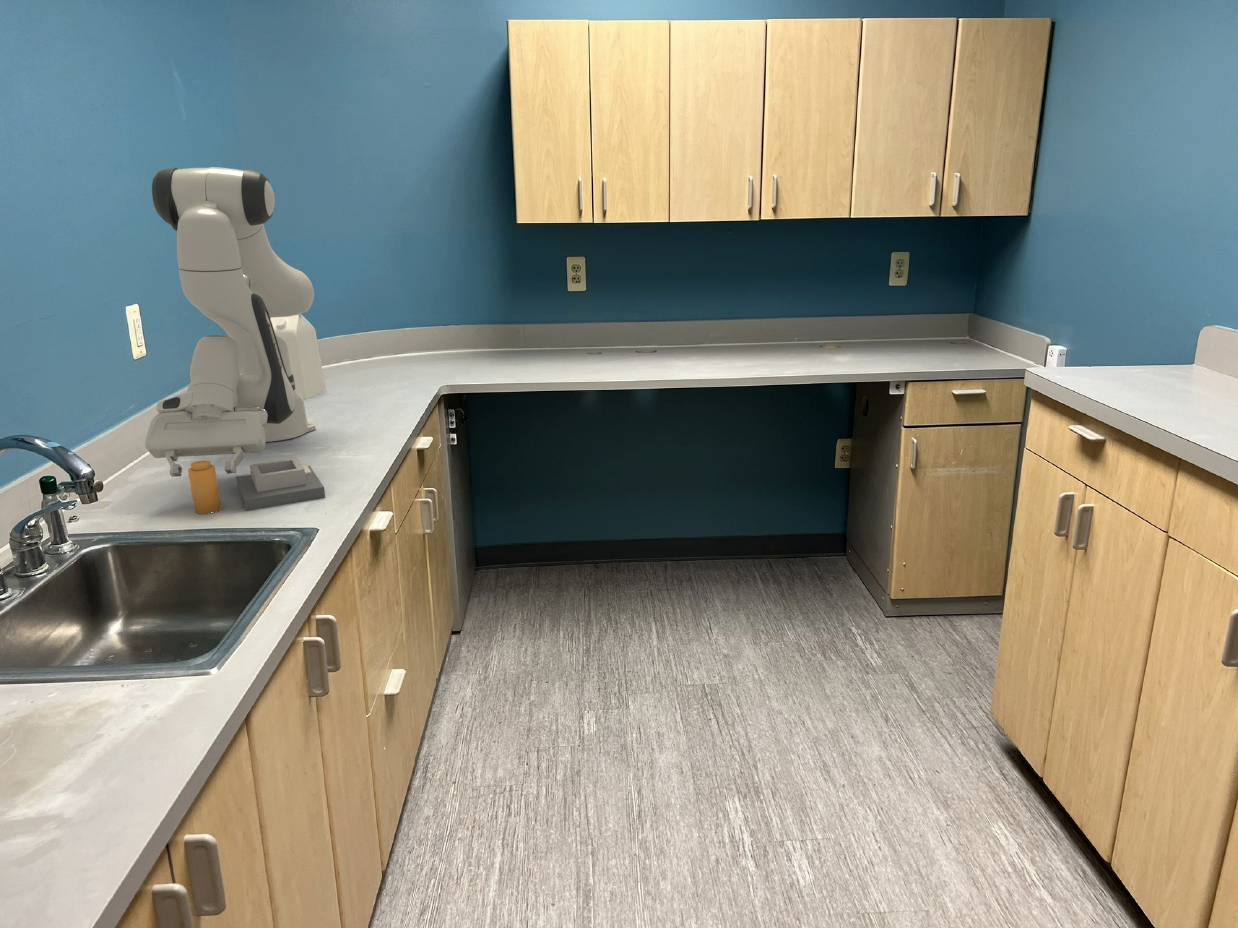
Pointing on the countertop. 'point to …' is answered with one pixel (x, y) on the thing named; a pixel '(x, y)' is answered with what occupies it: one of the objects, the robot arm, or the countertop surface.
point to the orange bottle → (204, 487)
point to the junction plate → (278, 484)
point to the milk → (301, 354)
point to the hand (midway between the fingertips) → (202, 473)
